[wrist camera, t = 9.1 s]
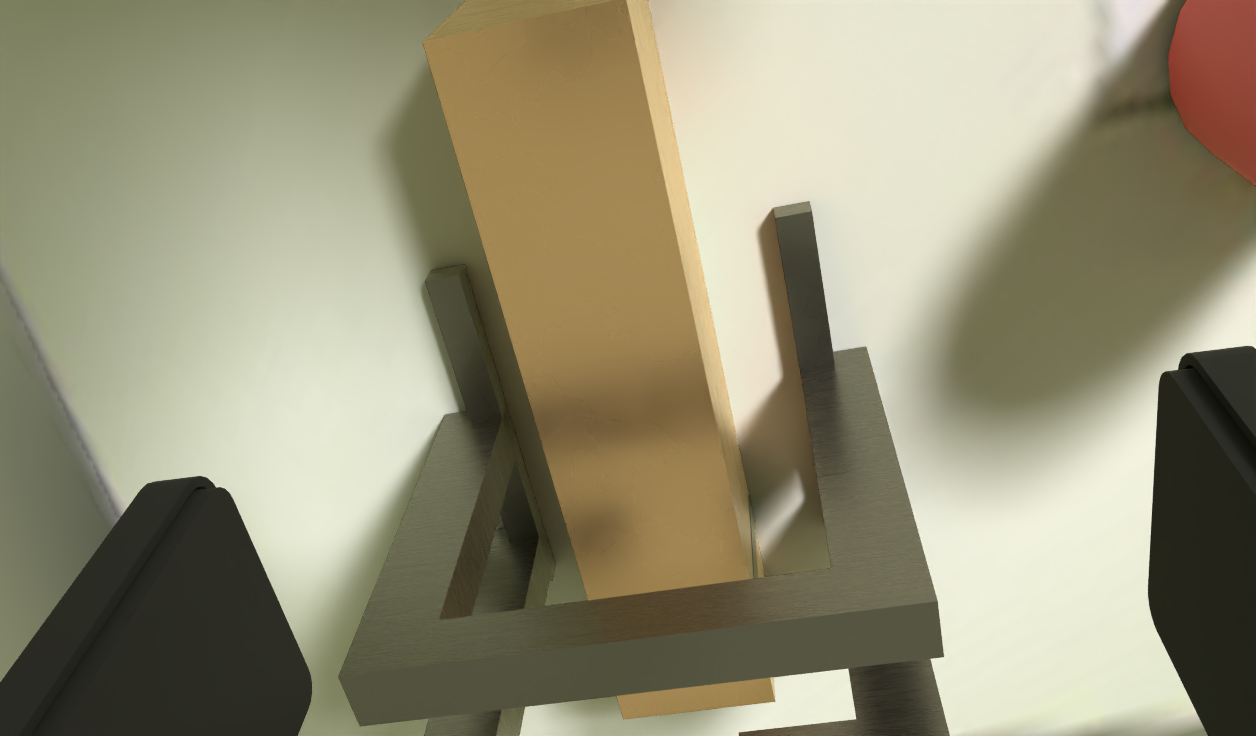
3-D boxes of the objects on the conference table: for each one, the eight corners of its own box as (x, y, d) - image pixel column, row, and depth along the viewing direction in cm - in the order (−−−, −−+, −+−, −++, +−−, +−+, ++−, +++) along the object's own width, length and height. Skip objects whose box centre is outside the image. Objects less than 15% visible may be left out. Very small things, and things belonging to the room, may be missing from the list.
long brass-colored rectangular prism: (469, -3, 29) (421, 42, 24) (640, -41, 28) (627, -3, 24) (633, 598, 38) (622, 719, 33) (766, 580, 37) (775, 701, 32)
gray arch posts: (398, 276, 33) (261, 501, 23) (845, 194, 31) (914, 400, 21) (497, 573, 38) (421, 867, 28) (889, 519, 36) (961, 814, 26)
